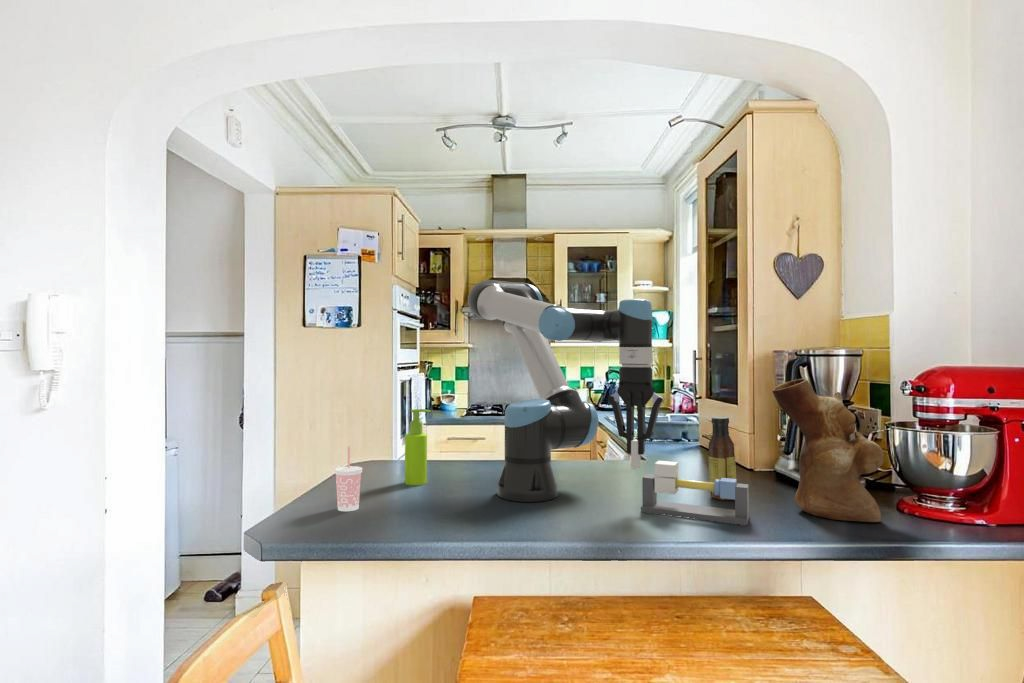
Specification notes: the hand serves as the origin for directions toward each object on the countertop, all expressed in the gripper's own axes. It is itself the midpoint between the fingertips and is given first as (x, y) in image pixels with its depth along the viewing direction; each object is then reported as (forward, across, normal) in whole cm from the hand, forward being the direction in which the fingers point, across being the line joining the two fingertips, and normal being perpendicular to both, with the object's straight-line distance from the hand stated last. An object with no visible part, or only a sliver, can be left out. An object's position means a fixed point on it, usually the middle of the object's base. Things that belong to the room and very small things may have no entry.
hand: (635, 468), depth 131 cm
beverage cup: (+9, -58, -31) cm, 66 cm away
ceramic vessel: (+9, +39, +14) cm, 42 cm away
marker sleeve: (+5, +7, 0) cm, 8 cm away
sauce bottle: (+9, +17, +18) cm, 26 cm away
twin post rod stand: (+9, +13, 0) cm, 16 cm away
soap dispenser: (+9, -59, -3) cm, 60 cm away
